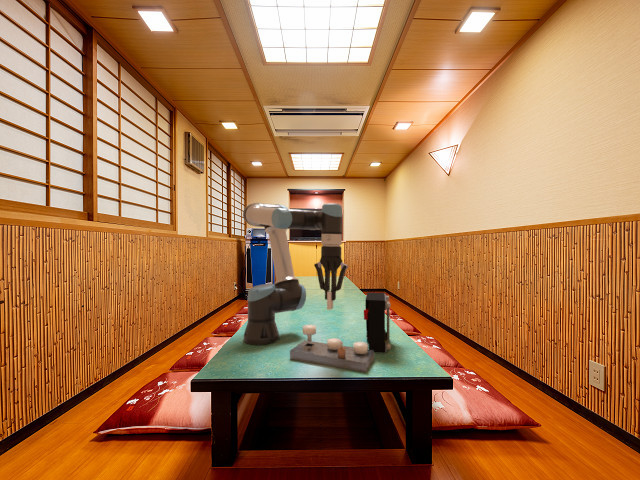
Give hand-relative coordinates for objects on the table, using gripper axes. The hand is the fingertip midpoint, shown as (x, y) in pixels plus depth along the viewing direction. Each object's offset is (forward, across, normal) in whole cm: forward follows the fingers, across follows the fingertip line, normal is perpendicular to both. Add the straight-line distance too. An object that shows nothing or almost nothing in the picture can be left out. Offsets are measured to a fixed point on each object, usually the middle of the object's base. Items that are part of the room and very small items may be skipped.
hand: (330, 308), depth 108 cm
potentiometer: (+14, +7, -7) cm, 17 cm away
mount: (+17, +2, -3) cm, 18 cm away
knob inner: (+13, -8, -1) cm, 15 cm away
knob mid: (+17, +2, -1) cm, 17 cm away
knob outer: (+17, +12, -1) cm, 21 cm away
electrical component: (+18, +15, +18) cm, 29 cm away
